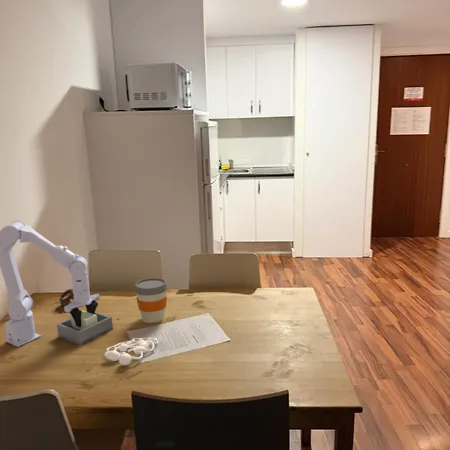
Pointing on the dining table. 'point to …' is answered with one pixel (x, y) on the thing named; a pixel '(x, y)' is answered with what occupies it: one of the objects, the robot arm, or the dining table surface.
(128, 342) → the white tangled earphones
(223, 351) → the dining table surface
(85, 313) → the sage crate
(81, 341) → the charcoal crate
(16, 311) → the robot arm
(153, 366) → the dining table surface
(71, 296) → the pottery mug
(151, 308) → the reusable coffee cup
